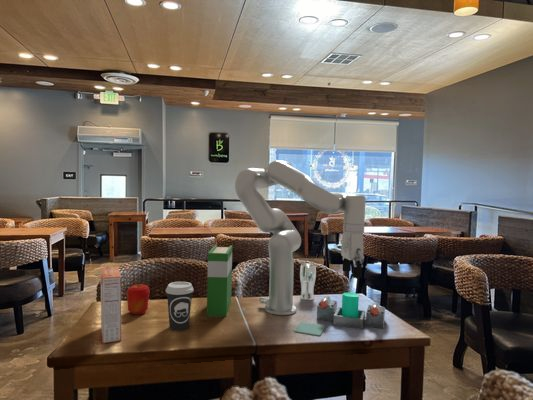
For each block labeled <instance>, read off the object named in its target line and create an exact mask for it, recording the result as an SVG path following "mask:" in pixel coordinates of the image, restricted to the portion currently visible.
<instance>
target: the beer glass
mask: <svg viewBox="0 0 533 400" xmlns="http://www.w3.org/2000/svg"><path fill="white" fill-rule="evenodd" d="M316 267H317V265H316V264H315V263H312V262H305V263H304V262H303V263H301V264H300V269H299V278H300V279H299V281H300V288H301V290H300V291H301V292H300V295H299V296H300V300H304V301H312V300H314V299H315V296H314V295H315V293H314V288H315V284H316V278H317V268H316Z"/></svg>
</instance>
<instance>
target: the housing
mask: <svg viewBox="0 0 533 400" xmlns="http://www.w3.org/2000/svg"><path fill="white" fill-rule="evenodd" d="M323 299H324V298H321V299H320V301H319V302H318V304H317V306H316V320H321V321H322V320H323V321H328V322H333V326H339V327H345V328H350V329H357V330H363V327H368V328H375V329H376V328H377V329H382V330H383V329H384V325H385V315H386V311H385V310H386V307H385V306H380V307H379V314H378V316H372V315H371V314H370V309H371V308H372V304H368V306H367V309H366V310H364V309H363V310H362V309H358V318H354V317H347V316H342V306H341V307H340V306H338V300H335V299H334V300H332V299H331V300H330V302H329V304H328V306H327V308H326V309H321V308H320V307H319V303H320V302H321V301H322V300H323Z"/></svg>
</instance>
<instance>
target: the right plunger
mask: <svg viewBox="0 0 533 400" xmlns="http://www.w3.org/2000/svg"><path fill="white" fill-rule="evenodd" d="M371 306H372V308H371V309H370V314H371V315H372V316H378V314H379V307H381V306H380V303H379V302H377V301H376V302H373V303H372V304H371Z"/></svg>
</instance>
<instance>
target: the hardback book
mask: <svg viewBox="0 0 533 400" xmlns="http://www.w3.org/2000/svg"><path fill="white" fill-rule="evenodd" d="M232 267H233V245H229V246H226V247H225V246H218V245H217V244H214V245H213V246H212V247H211V249H210V250H209V251H208V252H207V278H206V279H207V283H206V284H207V285H206V288H207V289H206V292H207V293H206V317H219V318H221V317H224V318H227V316H228V314H229V310H230V306H231V303H232V284H233V283H232V281H233V280H232V279H233V268H232Z"/></svg>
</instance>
